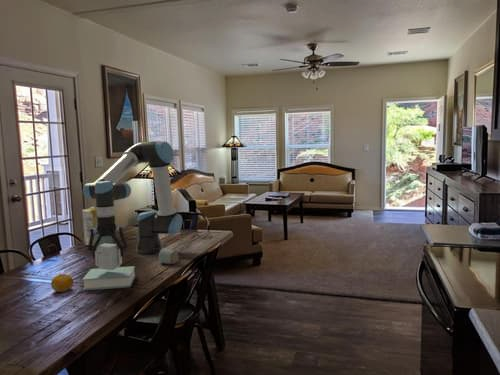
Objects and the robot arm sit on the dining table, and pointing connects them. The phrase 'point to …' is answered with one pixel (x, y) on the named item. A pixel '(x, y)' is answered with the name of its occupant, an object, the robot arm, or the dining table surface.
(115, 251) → the small box
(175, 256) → the ceramic mug
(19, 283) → the dining table surface
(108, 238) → the teal cup
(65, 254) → the dining table surface
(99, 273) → the book
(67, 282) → the fruit
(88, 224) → the juice carton
